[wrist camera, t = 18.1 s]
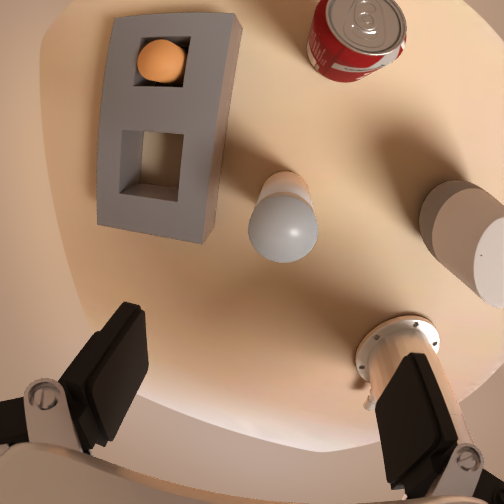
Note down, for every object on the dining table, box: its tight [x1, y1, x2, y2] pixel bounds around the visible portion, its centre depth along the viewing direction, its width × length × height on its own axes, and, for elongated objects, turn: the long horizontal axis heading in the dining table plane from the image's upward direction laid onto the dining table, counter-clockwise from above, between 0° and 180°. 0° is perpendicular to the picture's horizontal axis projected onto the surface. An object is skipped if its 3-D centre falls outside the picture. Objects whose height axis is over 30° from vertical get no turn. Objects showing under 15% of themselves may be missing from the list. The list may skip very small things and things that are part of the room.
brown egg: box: [137, 39, 188, 85], centre depth 25 cm, size 4×4×5 cm
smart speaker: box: [419, 180, 504, 308], centre depth 24 cm, size 10×9×14 cm
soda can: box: [307, 0, 407, 83], centre depth 20 cm, size 7×7×12 cm
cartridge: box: [248, 171, 318, 263], centre depth 27 cm, size 5×5×11 cm
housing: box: [97, 12, 243, 244], centre depth 28 cm, size 22×12×5 cm, turn 171°
